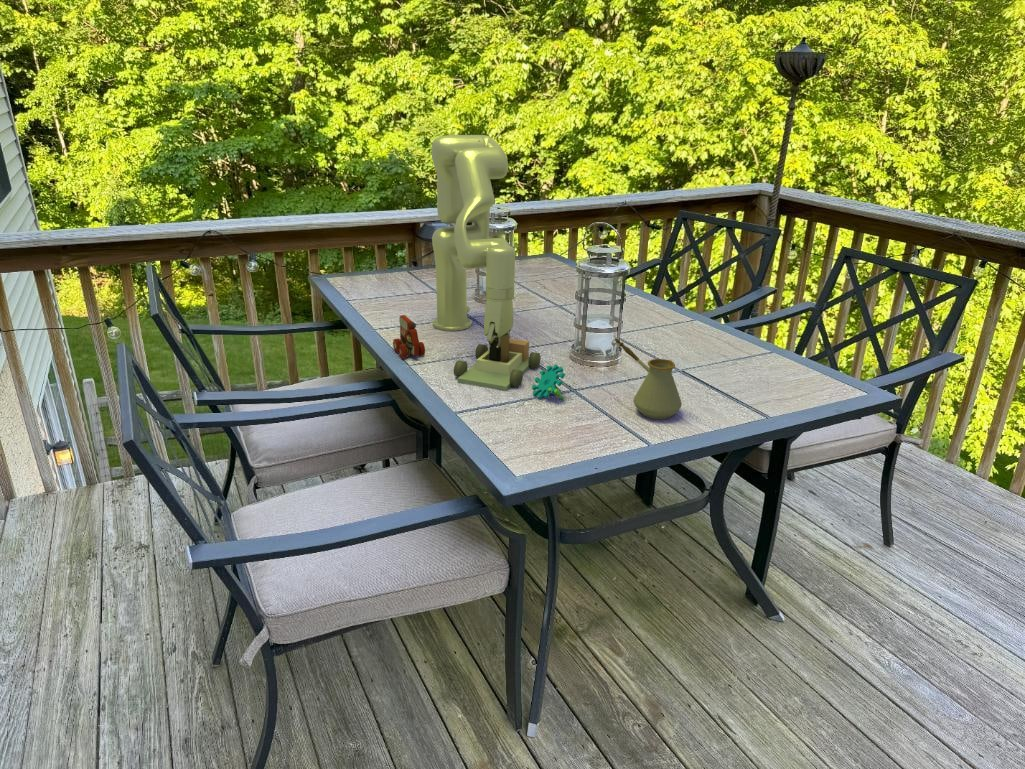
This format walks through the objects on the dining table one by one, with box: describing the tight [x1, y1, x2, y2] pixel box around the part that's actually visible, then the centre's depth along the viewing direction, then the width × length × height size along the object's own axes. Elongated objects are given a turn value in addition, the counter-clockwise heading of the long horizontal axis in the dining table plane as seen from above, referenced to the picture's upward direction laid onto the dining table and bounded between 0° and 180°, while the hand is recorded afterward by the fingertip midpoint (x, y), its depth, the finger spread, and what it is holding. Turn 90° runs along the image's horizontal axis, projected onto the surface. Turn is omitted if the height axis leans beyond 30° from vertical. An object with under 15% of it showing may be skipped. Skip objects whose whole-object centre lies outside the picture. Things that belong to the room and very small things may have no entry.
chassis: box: [453, 338, 542, 392], centre depth 200 cm, size 22×18×6 cm
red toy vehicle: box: [392, 314, 426, 359], centre depth 211 cm, size 7×12×10 cm, turn 26°
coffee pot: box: [611, 337, 683, 420], centre depth 179 cm, size 21×12×15 cm, turn 39°
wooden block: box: [491, 333, 509, 363], centre depth 199 cm, size 4×4×8 cm
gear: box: [531, 364, 566, 401], centre depth 186 cm, size 11×6×10 cm
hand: (499, 355), depth 200 cm, fingers closed on wooden block, 5 cm apart
